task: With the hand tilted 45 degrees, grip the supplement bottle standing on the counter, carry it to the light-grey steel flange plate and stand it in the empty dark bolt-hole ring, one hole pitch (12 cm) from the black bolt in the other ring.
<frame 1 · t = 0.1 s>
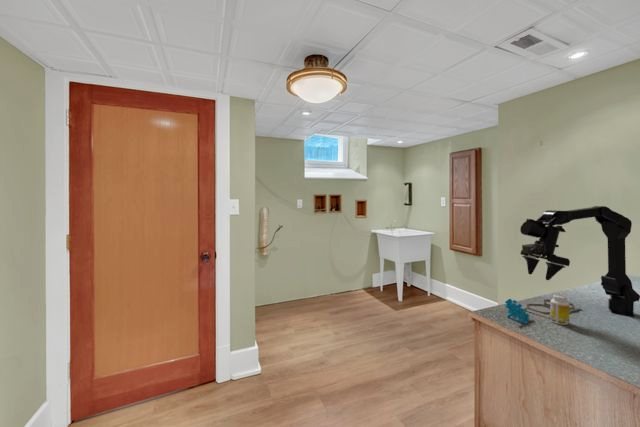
hand: (538, 277, 115), 15 cm above the table, tool pointing down, fingers open, 9 cm apart
supplement bottle: (559, 322, 108), on the table
gear: (517, 320, 111), on the table
flange plate: (550, 309, 121), on the table
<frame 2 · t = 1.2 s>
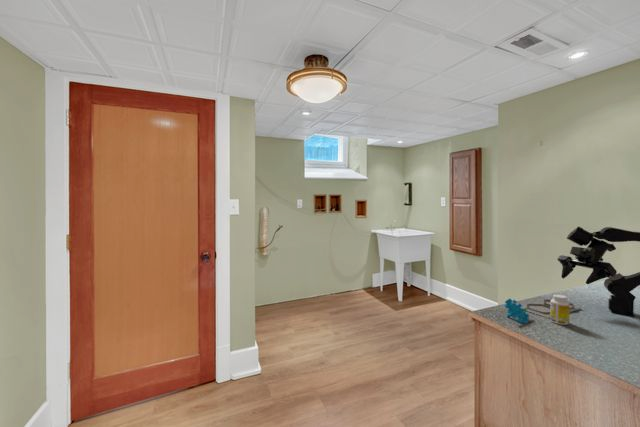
hand: (574, 280, 117), 13 cm above the table, tool tilted 45°, fingers open, 9 cm apart
nothing on the table moved.
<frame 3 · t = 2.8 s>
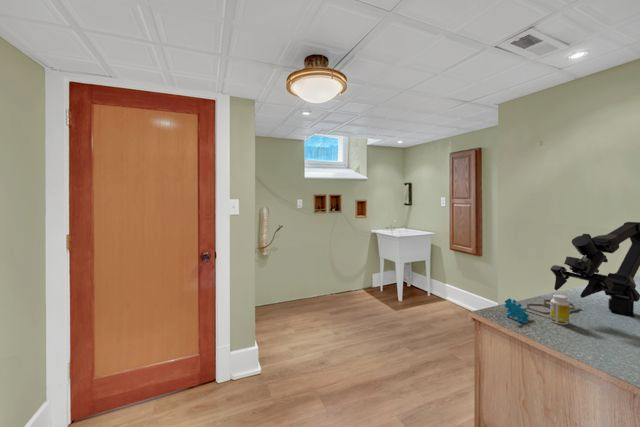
hand: (567, 293, 108), 11 cm above the table, tool tilted 45°, fingers open, 9 cm apart
nothing on the table moved.
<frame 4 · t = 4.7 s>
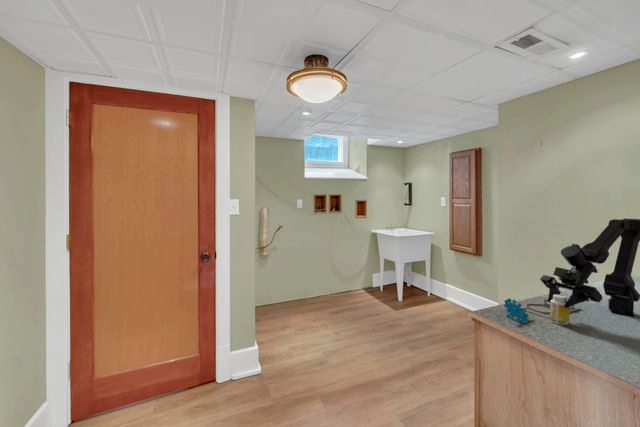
hand: (556, 304, 107), 7 cm above the table, tool tilted 45°, fingers closed on supplement bottle, 5 cm apart
supplement bottle: (559, 322, 108), on the table, touching gripper
everything else where it was.
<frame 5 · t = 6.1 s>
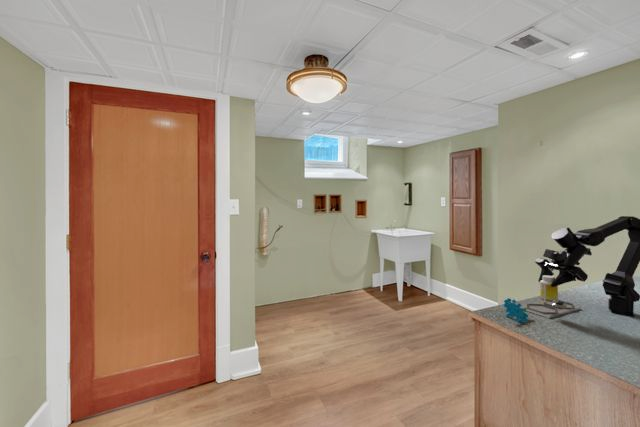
hand: (545, 284, 113), 13 cm above the table, tool tilted 45°, fingers closed on supplement bottle, 5 cm apart
supplement bottle: (549, 301, 114), point 6 cm above the table, touching gripper
everything else where it was.
when the fingers open (9 cm above the table, at t = 7.5 s): supplement bottle drops 1 cm, resting on flange plate.
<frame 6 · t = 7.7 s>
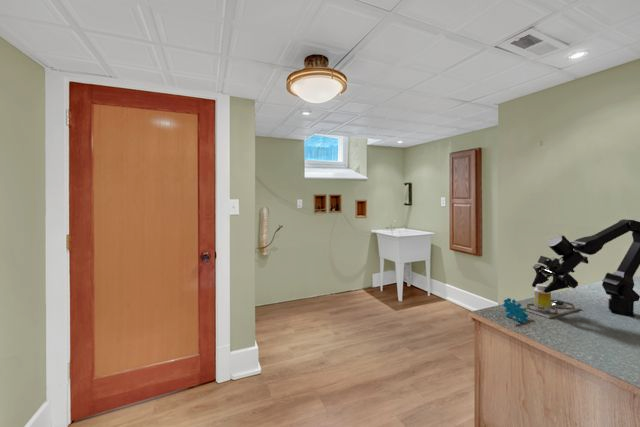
hand: (538, 289, 118), 10 cm above the table, tool tilted 45°, fingers open, 7 cm apart
supplement bottle: (542, 309, 118), point 1 cm above the table, touching flange plate
everything else where it was.
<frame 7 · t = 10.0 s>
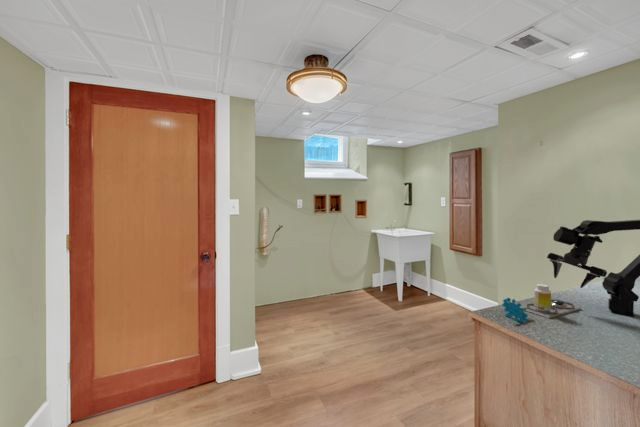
hand: (567, 282, 121), 11 cm above the table, tool tilted 20°, fingers open, 9 cm apart
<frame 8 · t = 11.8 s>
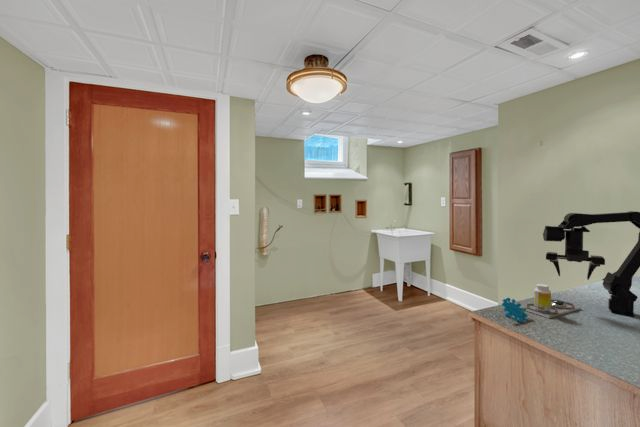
hand: (573, 277, 122), 13 cm above the table, tool pointing down, fingers open, 9 cm apart
at the end: supplement bottle 0.2 cm from the target spot, point 0.8 cm above the table; supplement bottle tilted 0°; the gripper is holding nothing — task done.
